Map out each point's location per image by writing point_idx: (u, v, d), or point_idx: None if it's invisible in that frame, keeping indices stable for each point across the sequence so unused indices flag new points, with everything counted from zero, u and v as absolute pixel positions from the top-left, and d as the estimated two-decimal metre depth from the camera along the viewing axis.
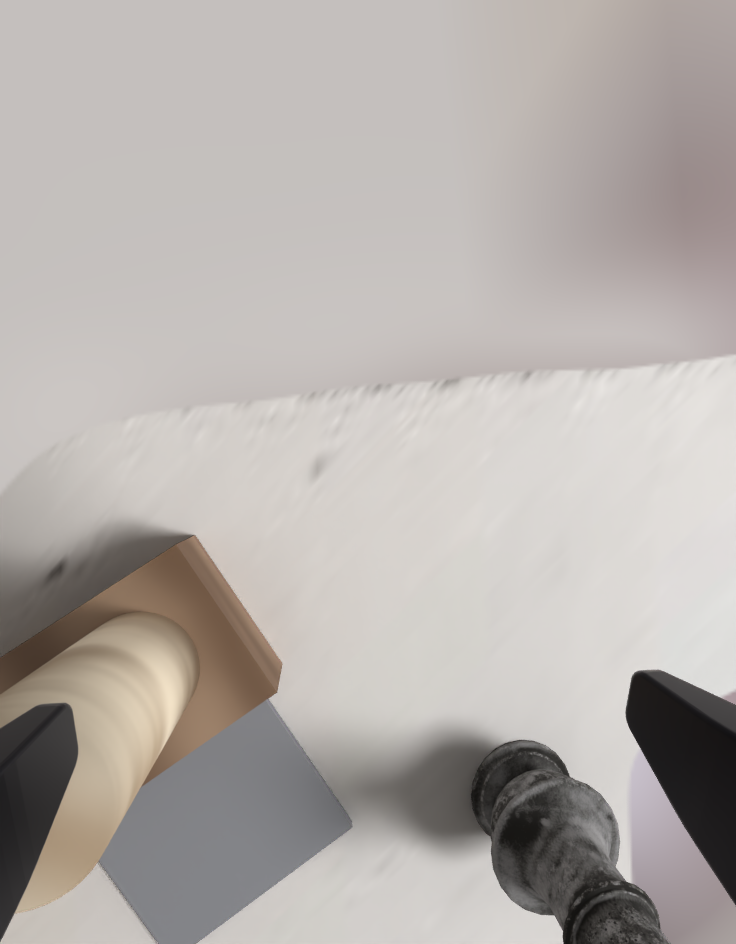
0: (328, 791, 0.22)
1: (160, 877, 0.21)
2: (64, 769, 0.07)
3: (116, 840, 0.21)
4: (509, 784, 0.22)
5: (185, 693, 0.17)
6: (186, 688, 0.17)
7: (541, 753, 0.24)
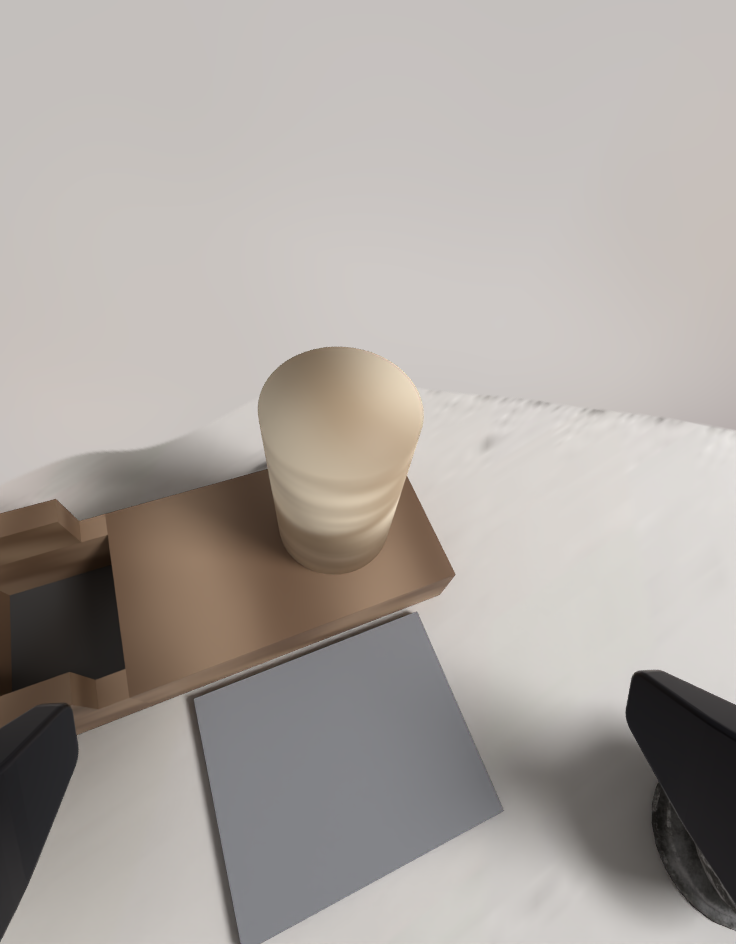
0: (477, 750, 0.19)
1: (265, 805, 0.17)
2: (64, 769, 0.07)
3: (232, 736, 0.18)
4: None
5: None
6: None
7: None
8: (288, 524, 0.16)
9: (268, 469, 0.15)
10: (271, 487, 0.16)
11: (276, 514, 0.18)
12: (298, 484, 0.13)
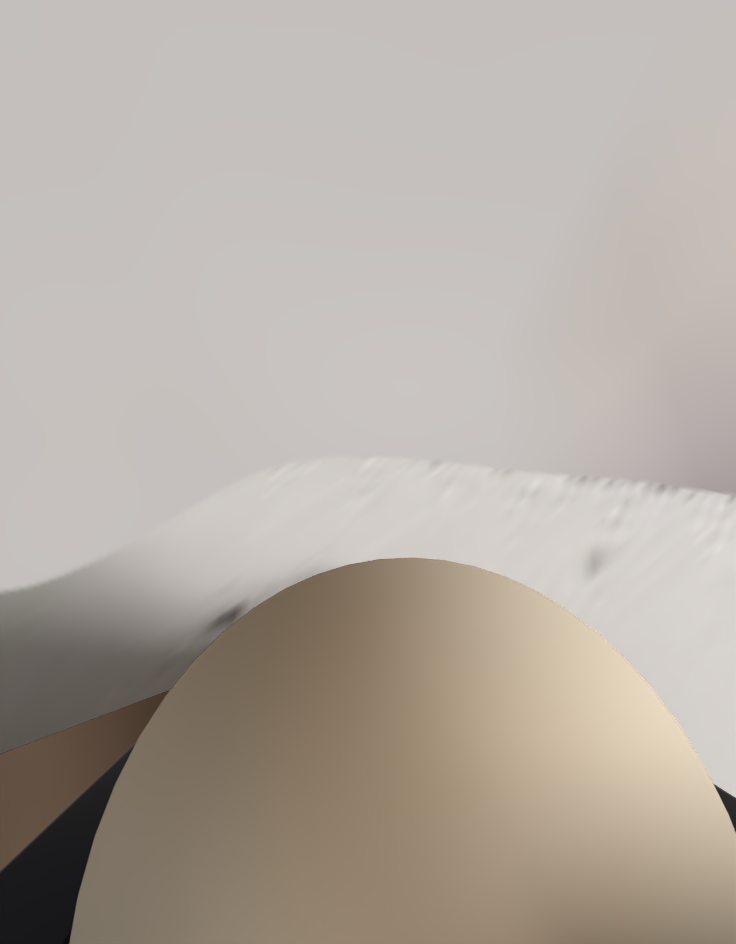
0: None
1: None
2: None
3: None
4: None
5: None
6: None
7: None
8: None
9: None
10: None
11: None
12: None
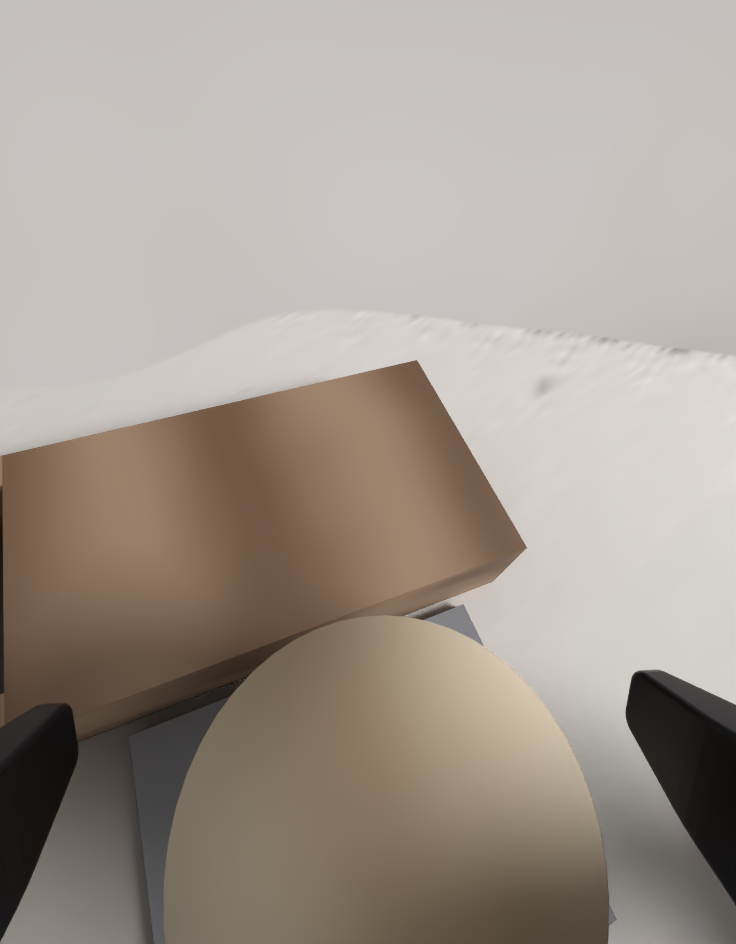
0: None
1: None
2: (64, 769, 0.07)
3: None
4: None
5: None
6: None
7: None
8: None
9: None
10: None
11: None
12: None
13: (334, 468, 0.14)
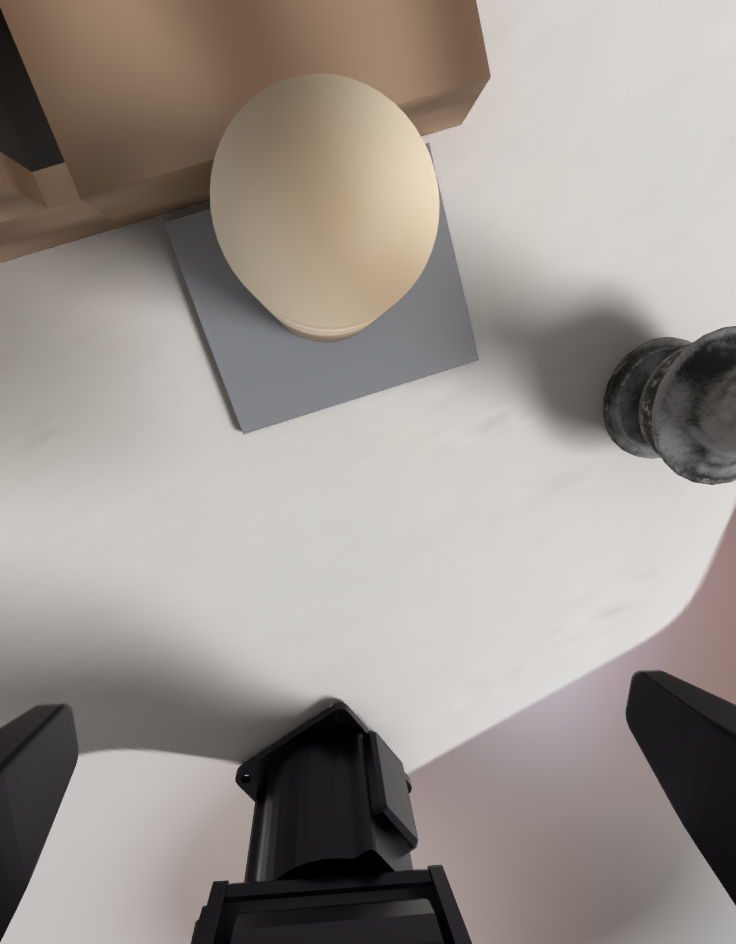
0: (466, 307, 0.18)
1: (253, 333, 0.18)
2: (64, 769, 0.07)
3: (212, 267, 0.17)
4: None
5: None
6: None
7: None
8: None
9: None
10: None
11: None
12: (271, 310, 0.11)
13: None
